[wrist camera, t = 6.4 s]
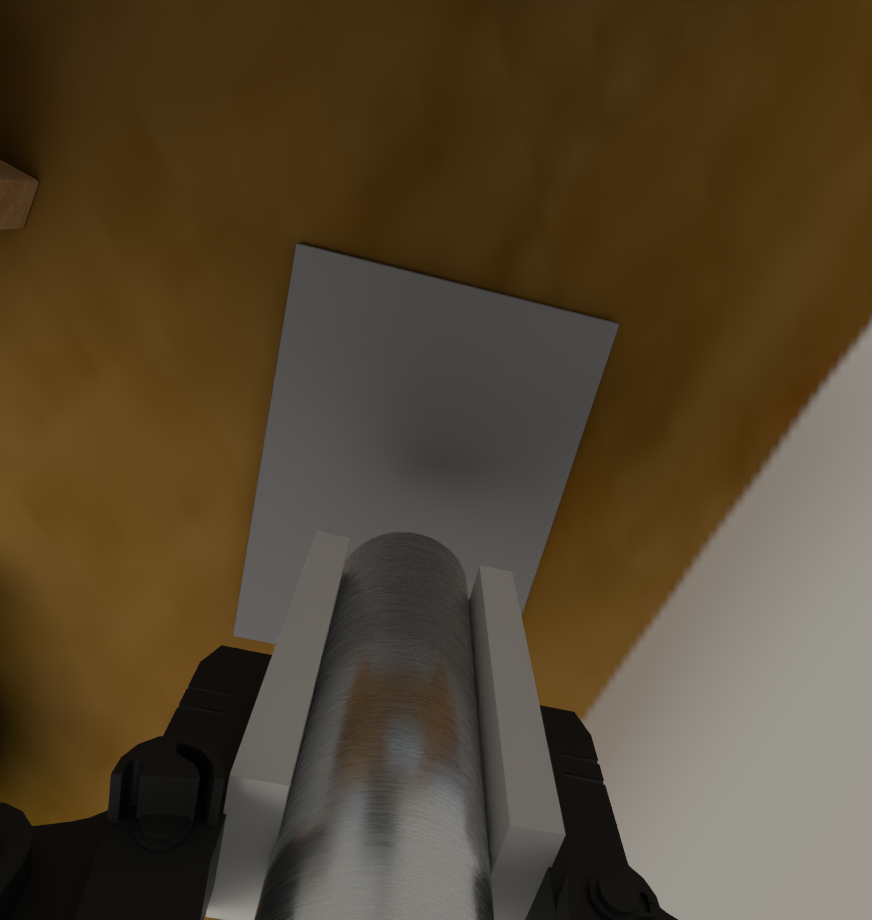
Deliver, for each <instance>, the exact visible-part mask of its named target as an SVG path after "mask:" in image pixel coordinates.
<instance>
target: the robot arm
mask: <svg viewBox="0 0 872 920" xmlns="http://www.w3.org/2000/svg"><path fill="white" fill-rule="evenodd" d="M349 543H350V537H345V536H341V535H336V534H331V533H326V532H322V531H317V530H316V533H315V536H314V539H313V542H312V544H311V547H310V550H309V553H308V556H307V558H306V561H305V564H304V567H303V570H302V573H301V575H300V578H299V581H298V584H297V587H296V589H295V592H294V595H293V598H292V601H291V604H290V606H289V609H288V612H287V615H286V618H285V621H284V623H283V626H282V629H281V632H280V635H279V637H278V640H277V643H276V646H275V649H274V652H273V654H272V655H269V654H263V653H258V652H253V651H248V650H243V649H238V648H232V647H227V646H222V645H221V646H220V647H219V648H218V649H216V650H215V651H214V652H213V653H211V654H210V655H209V656H207V657H206V658H205V659H204V660H202V661H201V662H200V664H199V666H198V668H197V670H196V672H195V674H194V676H193V678H192V680H191V682H190V684H189V687H188V689H186V691H185V693H184V695H183V697H182V699H181V701H180V704H179V707H178V708H177V709H176V711H175V713H174V715H173V717H172V719H171V721H170V723H169V725H168V727H167V729H166V731H165V733H164V735H163V736H160V737H156V738H154V739H151V740H148V741H146V742H143V743H140V744H138V745H137V746H135V747H134V748H133V749H131V750H130V751H129V752H128V753H126V754H125V755H124V756H122V757H121V759H120V760H119V762H118V764H117V765H116V767H115V768H114V770H113V771H112V773H111V781H110V794H109V806H108V810H107V811H105V812H103V813H100V814H98V815H95V816H93V817H90V818H86V819H81V820H77V821H72V822H64V823H56V824H48V825H40V826H32V825H31V824H30V822H29V821H28V819H27V818H26V816H25V815H24V813H23V811H21V810H19V809H17V808H15V807H13V806H11V805H9V804H7V803H0V920H204V917H205V914H206V917H211V918H217V919H223V920H254V918H255V914H256V910H257V906H258V902H259V898H260V894H261V890H262V886H263V882H264V878H265V874H266V870H267V866H268V862H269V859H270V855H271V852H272V849H273V847H274V845H275V843H276V841H277V840H278V836H279V832H280V828H281V824H282V820H283V816H284V811H285V807H286V803H287V799H288V795H289V791H290V787H291V783H292V779H293V775H294V771H295V767H296V762H297V758H298V754H299V750H300V746H301V742H302V738H303V734H304V730H305V726H306V722H307V718H308V713H309V709H310V705H311V701H312V697H313V693H314V689H315V685H316V681H317V677H318V673H319V669H320V664H321V660H322V656H323V652H324V648H325V644H326V640H327V636H328V632H329V628H330V624H331V620H332V615H333V611H334V607H335V603H336V599H337V595H338V591H339V587H340V583H341V579H342V575H343V570H344V565H345V561H346V556H347V552H348V547H349ZM469 613H470V625H471V637H472V650H473V662H474V675H475V687H476V699H477V712H478V724H479V737H480V749H481V762H482V774H483V786H484V799H485V811H486V824H487V836H488V848H489V861H490V873H491V886H492V898H493V910H494V920H678V919H676V918H674V917H673V916H671V915H669V914H668V913H666V912H665V911H664V910H662V909H661V908H660V906H659V903H658V900H657V897H656V895H655V894H654V892H653V891H652V890H651V888H650V887H649V885H648V884H647V883H646V881H645V880H644V879H643V878H642V877H641V876H640V875H639V874H638V873H637V872H635V871H634V870H633V869H632V868H631V867H630V866H629V865H628V862H627V860H626V856H625V852H624V849H623V845H622V842H621V838H620V835H619V831H618V828H617V824H616V821H615V818H614V814H613V811H612V807H611V804H610V800H609V797H608V793H607V790H606V786H605V785H603V780H604V779H603V776H602V773H601V769H600V765H599V764H597V761H598V758H597V755H596V752H595V748H594V744H593V741H592V737H591V735H590V733H589V732H588V730H587V729H586V728H585V726H584V725H583V723H582V722H581V721H580V719H579V718H578V716H577V715H576V714H575V712H572V711H567V710H562V709H556V708H551V707H546V706H541V705H539V701H538V696H537V691H536V686H535V681H534V676H533V671H532V666H531V661H530V656H529V651H528V646H527V641H526V636H525V631H524V626H523V621H522V617H521V612H520V607H519V602H518V597H517V592H516V587H515V582H514V577H513V572H510V571H506V570H501V569H496V568H492V567H487V566H482V565H480V566H479V569H478V572H477V576H476V579H475V582H474V585H473V589H472V592H471V595H470V598H469ZM206 910H207V912H206Z"/></svg>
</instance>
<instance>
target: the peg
mask: <svg viewBox="0 0 872 920" xmlns="http://www.w3.org/2000/svg"><path fill="white" fill-rule="evenodd" d="M254 920H494V910H493V898H492V886H491V873H490V861H489V848H488V836H487V824H486V811H485V799H484V786H483V774H482V762H481V749H480V737H479V724H478V712H477V699H476V687H475V675H474V662H473V650H472V637H471V625H470V613H469V600H468V588H467V579H466V575H465V572H464V569H463V567H462V565H461V563H460V562H459V560H458V559H457V557H456V556H455V555H454V554H453V553H452V552H451V551H450V550H449V549H448V548H447V547H446V546H444V545H443V544H441V543H440V542H438V541H436V540H434V539H432V538H430V537H427V536H424V535H420V534H416V533H410V532H396V533H388V534H383V535H380V536H377V537H375V538H373V539H370V540H368V541H367V542H365V543H363V544H362V545H360V546H359V547H358V548H357V549H356V550H355V551H354V552H353V553H352V554H351V555H350V556H349V558H348V559H347V561H346V562H345V565H344V570H343V575H342V579H341V583H340V587H339V591H338V595H337V599H336V603H335V607H334V611H333V615H332V620H331V624H330V628H329V632H328V636H327V640H326V644H325V648H324V652H323V656H322V660H321V664H320V669H319V673H318V677H317V681H316V685H315V689H314V693H313V697H312V701H311V705H310V709H309V713H308V718H307V722H306V726H305V730H304V734H303V738H302V742H301V746H300V750H299V754H298V758H297V762H296V767H295V771H294V775H293V779H292V783H291V787H290V791H289V795H288V799H287V803H286V807H285V811H284V816H283V820H282V824H281V828H280V832H279V836H278V840H277V841H276V843H275V845H274V847H273V849H272V852H271V855H270V859H269V862H268V866H267V870H266V874H265V878H264V882H263V886H262V890H261V894H260V898H259V902H258V906H257V910H256V914H255V918H254Z"/></svg>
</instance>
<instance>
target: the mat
mask: <svg viewBox="0 0 872 920" xmlns="http://www.w3.org/2000/svg"><path fill="white" fill-rule="evenodd" d="M618 327H619V324H618V323H616V322H613V321H609V320H605V319H601V318H597V317H593V316H589V315H585V314H581V313H577V312H573V311H569V310H565V309H561V308H557V307H553V306H549V305H545V304H541V303H537V302H533V301H529V300H525V299H521V298H517V297H513V296H509V295H505V294H501V293H497V292H493V291H489V290H485V289H481V288H477V287H473V286H469V285H465V284H461V283H457V282H453V281H449V280H445V279H441V278H437V277H433V276H429V275H425V274H421V273H417V272H413V271H409V270H405V269H401V268H397V267H393V266H389V265H385V264H381V263H377V262H373V261H369V260H365V259H361V258H357V257H353V256H349V255H345V254H341V253H337V252H333V251H329V250H325V249H321V248H317V247H313V246H309V245H305V244H301V243H297V244H296V248H295V254H294V261H293V267H292V273H291V279H290V286H289V292H288V298H287V304H286V310H285V317H284V323H283V329H282V335H281V341H280V348H279V354H278V360H277V366H276V372H275V379H274V385H273V391H272V397H271V403H270V410H269V416H268V422H267V428H266V434H265V441H264V447H263V453H262V459H261V466H260V472H259V478H258V484H257V490H256V497H255V503H254V509H253V515H252V521H251V528H250V534H249V540H248V546H247V552H246V559H245V565H244V571H243V577H242V583H241V590H240V596H239V602H238V608H237V615H236V621H235V627H234V633H233V636H237V637H242V638H247V639H252V640H257V641H262V642H267V643H272V644H276V643H277V640H278V637H279V635H280V632H281V629H282V626H283V623H284V621H285V618H286V615H287V612H288V609H289V606H290V604H291V601H292V598H293V595H294V592H295V589H296V587H297V584H298V581H299V578H300V575H301V573H302V570H303V567H304V564H305V561H306V558H307V556H308V553H309V550H310V547H311V544H312V542H313V539H314V536H315V533H316V530H317V531H322V532H326V533H331V534H336V535H341V536H345V537H350V543H349V547H348V552H347V556H346V561H347V559H348V558H349V556H350V555H351V554H352V553H353V552H354V551H355V550H356V549H357V548H358V547H359V546H360V545H362V544H363V543H365V542H367V541H368V540H370V539H373V538H375V537H377V536H380V535H383V534H388V533H396V532H410V533H416V534H420V535H424V536H427V537H430V538H432V539H434V540H436V541H438V542H440V543H441V544H443V545H444V546H446V547H447V548H448V549H449V550H450V551H451V552H452V553H453V554H454V555H455V556H456V557H457V559H458V560H459V562H460V563H461V565H462V567H463V569H464V572H465V575H466V579H467V588H468V600H469V598H470V595H471V592H472V589H473V585H474V582H475V579H476V576H477V572H478V569H479V566H480V565H482V566H487V567H492V568H496V569H501V570H506V571H510V572H513V577H514V582H515V587H516V592H517V597H518V602H519V607H520V612H521V616H522V613H523V610H524V607H525V604H526V601H527V598H528V595H529V592H530V589H531V586H532V583H533V580H534V577H535V574H536V571H537V568H538V565H539V562H540V559H541V556H542V554H543V551H544V548H545V545H546V542H547V539H548V536H549V533H550V530H551V527H552V524H553V521H554V518H555V515H556V512H557V509H558V506H559V503H560V500H561V497H562V494H563V491H564V488H565V485H566V482H567V479H568V476H569V473H570V470H571V467H572V464H573V461H574V458H575V455H576V452H577V449H578V446H579V443H580V440H581V437H582V434H583V431H584V428H585V425H586V422H587V419H588V416H589V413H590V410H591V407H592V404H593V401H594V398H595V395H596V393H597V390H598V387H599V384H600V381H601V378H602V375H603V372H604V369H605V366H606V363H607V360H608V357H609V354H610V351H611V348H612V345H613V342H614V339H615V336H616V333H617V330H618ZM346 561H345V562H346Z"/></svg>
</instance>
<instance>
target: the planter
mask: <svg viewBox="0 0 872 920" xmlns="http://www.w3.org/2000/svg"><path fill="white" fill-rule="evenodd" d="M38 184H39V182H38V181H37V180H36V179H34V178H32V177H31V176H29V175H27V174H25V173H23V172H22V171H20V170H18V169H16V168H14V167H13V166H11V165H9V164H7V163H5V162H4V161H2V160H0V229H23V227H24V225H25V222H26V219H27V216H28V214H29V211H30V208H31V205H32V202H33V199H34V196H35V193H36V190H37V187H38Z"/></svg>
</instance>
